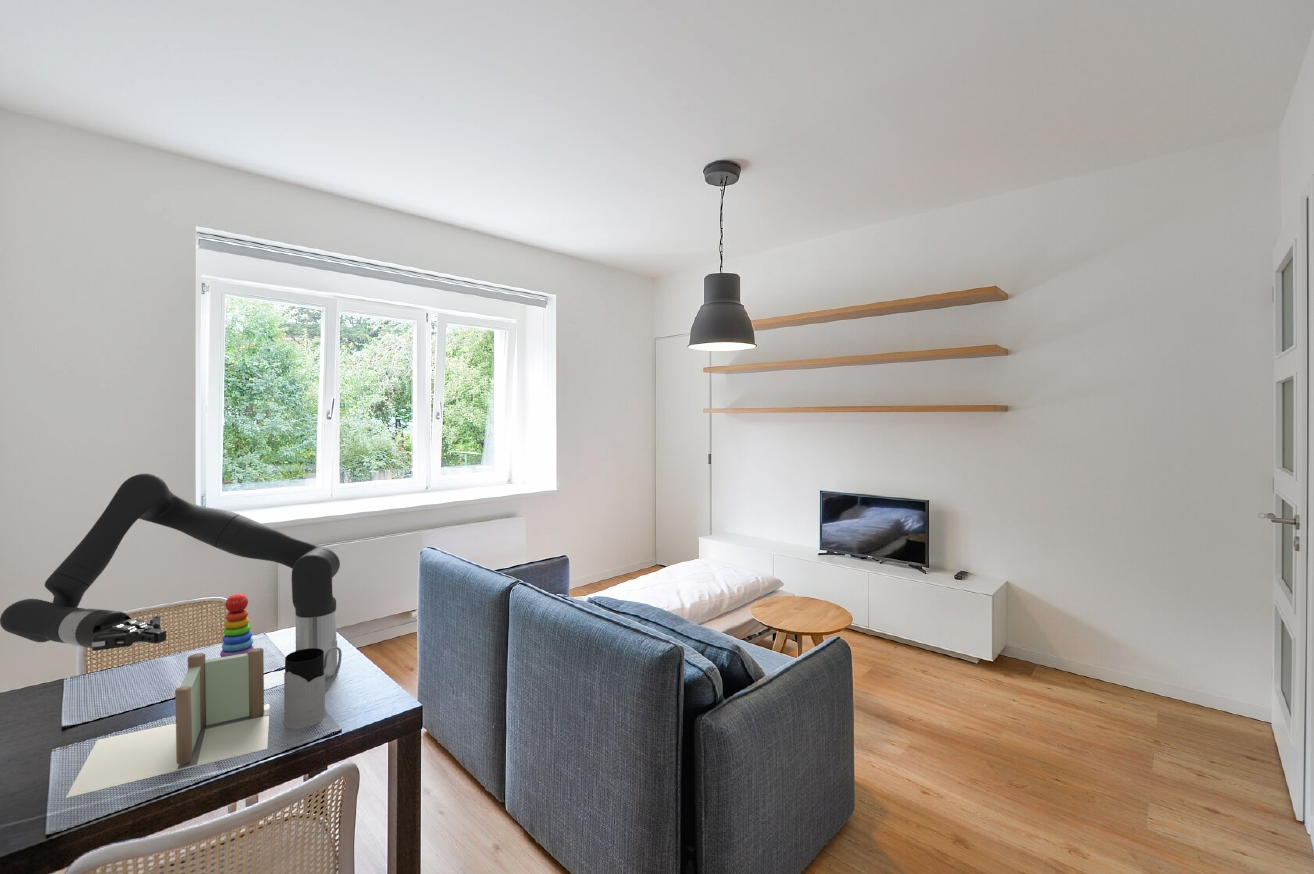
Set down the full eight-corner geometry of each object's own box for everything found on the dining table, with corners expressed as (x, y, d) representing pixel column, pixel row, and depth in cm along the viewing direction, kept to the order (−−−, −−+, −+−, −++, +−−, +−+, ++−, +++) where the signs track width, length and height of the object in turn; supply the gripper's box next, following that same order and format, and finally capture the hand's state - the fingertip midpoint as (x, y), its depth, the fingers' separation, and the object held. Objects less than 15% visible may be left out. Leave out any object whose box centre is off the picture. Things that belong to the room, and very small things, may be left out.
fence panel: (189, 730, 125) (187, 664, 124) (203, 727, 126) (202, 662, 125) (175, 766, 113) (173, 692, 112) (191, 762, 114) (189, 690, 113)
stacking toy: (262, 658, 162) (261, 592, 162) (233, 670, 155) (232, 601, 154) (242, 653, 165) (241, 588, 164) (212, 665, 158) (211, 597, 157)
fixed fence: (264, 710, 135) (263, 642, 134) (263, 716, 132) (263, 647, 131) (190, 726, 127) (188, 654, 127) (188, 732, 125) (186, 660, 124)
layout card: (269, 705, 138) (269, 703, 138) (267, 750, 120) (267, 747, 120) (97, 741, 122) (97, 739, 122) (65, 799, 104) (65, 797, 104)
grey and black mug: (272, 725, 129) (272, 659, 128) (326, 695, 143) (326, 636, 142) (302, 733, 127) (302, 666, 126) (355, 702, 140) (354, 641, 139)
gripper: (55, 621, 113) (125, 630, 110) (130, 600, 126) (194, 607, 122) (56, 659, 114) (126, 669, 110) (131, 633, 126) (195, 642, 123)
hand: (162, 636), depth 116 cm, fingers closed
